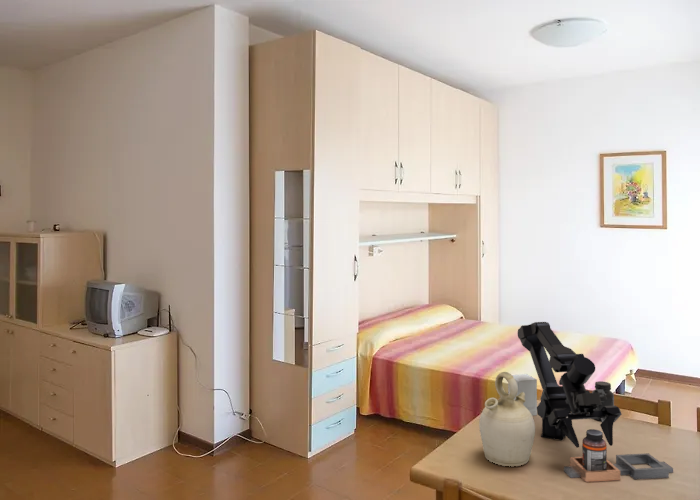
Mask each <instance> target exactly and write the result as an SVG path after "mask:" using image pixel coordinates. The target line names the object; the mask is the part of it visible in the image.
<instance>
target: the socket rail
mask: <svg viewBox="0 0 700 500" xmlns="http://www.w3.org/2000/svg"><path fill="white" fill-rule="evenodd" d="M606 461H607V463H606V470H599V471H587V470H586V469H585V468H584V467H583V466H582V456H570V457H569V465H568V466H563V472H564V473H565V474H566V475H567V476H568V477H569V478H570V479H573V478H574V479H575V478H581V479H582V480H583V481H584V482H585V483H588V482H589V483H591V482H592V483H594V482H608V481H609V482H611V481H621V476H630V477H631V478H632V479H633V480H646V479H647V480H649V479H650V480H651V479H668V478H669V477H670V473H671V474H672V473H674V468H673V467H672V466H671V465H670V464H669V463H667V462H665V461H660V460H658V459H657V458H655V457H654V456H653V455H651V454H650V453H645V452H644V453H632V454H631V453H627V454H626V453H625V454H616V455H615V463H612V462H611V461H610V460H608V459H607V460H606ZM641 464H643V465H645V464H646V465H648V466H650V467H644V468H642V467H641V468H640V467H638V468H637V467H635V466H633V465H641Z"/></svg>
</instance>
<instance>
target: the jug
mask: <svg viewBox="0 0 700 500" xmlns="http://www.w3.org/2000/svg"><path fill="white" fill-rule="evenodd" d="M512 375H513V374H511V372H510V373H509V372H507V371H503V372H499V373H498V374H497V375H496V377H495V382H494V383H495V384H494V385H495V390H496V392H497V394H498V395H499V396H500V397H499V398H498V399H497V398H496V397H489V398H487V400H485V402H484V408H483V409H482V411H481V414H480V415H479V422H478V423H479V424H478V428H479V433H480V438H481V442H482V448H483V449H482V450H483V453H484V457H485V459H486V460H487V461H488V460H489V463H492V462H493V463H495V464H494V465H496V464H498V465H497V466H500V465H502V466H501V467H505V466H509V468H514V466H516V467H521V465H522V466H524V465H526V464H527V463H528V462H529V460H530V457H531V453H532V450H533V445H534V441H535V435H536V423H535V420H534V417H533V416H532V415H531V413H530V411H529V410H528V409H527V408H526V407H525V406H524V405H523V403H524V402H525V401H526V400H525V393H523V392H521V393H520V394H519V395H518V396H516V395H517V392H518V387H517V383H516V380H515V379H514V377H513V376H512ZM504 379H505V380H506V382H507V384H508V383H509V386H510V394H508V393H507V392H506V391H505V389H504V386H503V380H504ZM515 397H516V399H515V400H514V398H515ZM493 463H492V464H493ZM510 466H511V467H510Z"/></svg>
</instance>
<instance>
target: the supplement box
mask: <svg viewBox="0 0 700 500" xmlns="http://www.w3.org/2000/svg"><path fill="white" fill-rule="evenodd" d="M511 375H512V376H513V377H514V379H515V380H516V383H517V387H518V392H517V395H516V396H518V395H519V394H520V393H521V392H523V393H525V400H526V401H525V402H524V403H523V405H524V406H525V407H526V408H527V409H528V410H529V411H530V413H531V415H532V417H533V416H538V413H537V406H538V394H537V393H538V389H537V387H538V379H537V378H534V377H533V376H531V375H529V374H528V373H519V374H511ZM507 385H508V386H507V389H508V390H507V391H508V393H507V394H510V386H509V383H508V382H507ZM515 399H516V397H515V398H514V400H515Z"/></svg>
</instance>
